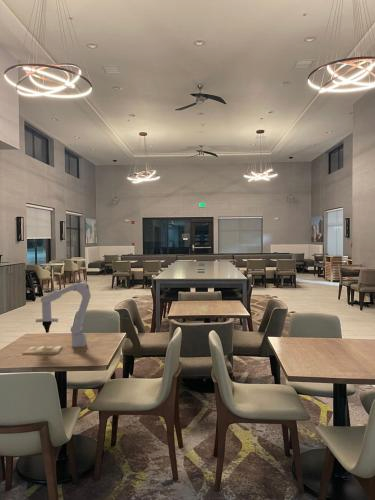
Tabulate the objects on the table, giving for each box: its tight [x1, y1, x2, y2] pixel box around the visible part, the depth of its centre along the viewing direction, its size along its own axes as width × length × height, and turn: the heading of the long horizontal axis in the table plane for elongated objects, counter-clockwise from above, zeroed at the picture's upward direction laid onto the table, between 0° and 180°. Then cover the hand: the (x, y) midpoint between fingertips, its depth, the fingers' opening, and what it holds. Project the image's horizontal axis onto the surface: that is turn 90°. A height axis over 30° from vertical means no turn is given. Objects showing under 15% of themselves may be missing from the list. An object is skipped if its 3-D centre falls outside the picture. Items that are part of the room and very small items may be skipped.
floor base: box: [22, 347, 64, 356], centre depth 264 cm, size 22×14×2 cm, turn 91°
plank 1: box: [27, 345, 47, 350], centre depth 267 cm, size 10×6×1 cm, turn 91°
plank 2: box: [44, 345, 64, 351], centre depth 267 cm, size 10×6×1 cm, turn 91°
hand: (47, 332), depth 275 cm, fingers closed
